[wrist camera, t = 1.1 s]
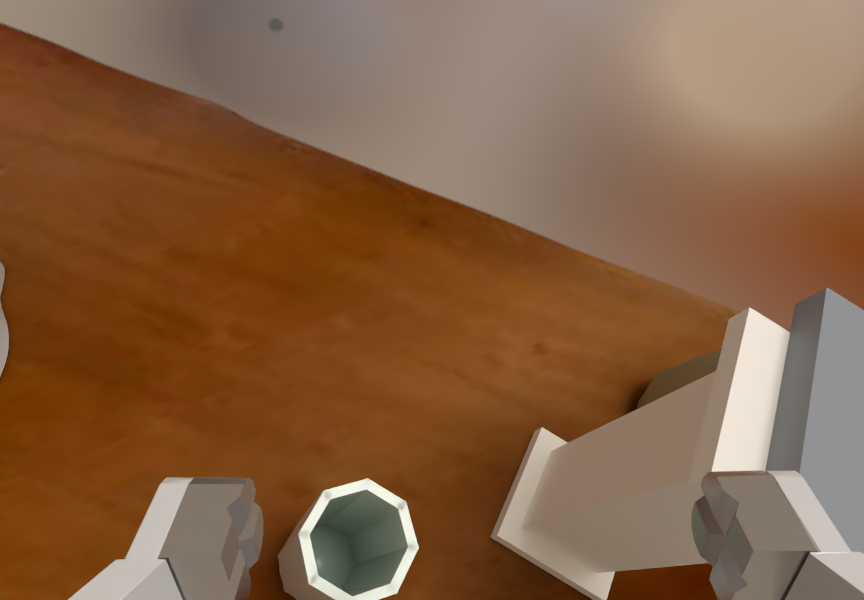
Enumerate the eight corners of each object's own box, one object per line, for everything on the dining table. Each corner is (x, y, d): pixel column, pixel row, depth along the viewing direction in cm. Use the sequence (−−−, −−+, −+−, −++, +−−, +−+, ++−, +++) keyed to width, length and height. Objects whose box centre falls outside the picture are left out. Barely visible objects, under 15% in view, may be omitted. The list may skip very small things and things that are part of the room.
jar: (262, 579, 43) (278, 566, 29) (306, 506, 46) (340, 461, 31) (331, 620, 43) (380, 628, 29) (371, 545, 46) (433, 517, 32)
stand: (490, 537, 49) (710, 478, 26) (534, 431, 54) (749, 307, 31) (596, 601, 49) (903, 597, 26) (630, 490, 54) (911, 408, 32)
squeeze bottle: (639, 364, 60) (779, 281, 45) (707, 409, 60) (871, 342, 45) (612, 431, 56) (758, 365, 41) (686, 480, 56) (859, 432, 40)
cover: (722, 708, 22) (763, 716, 20) (795, 304, 32) (826, 287, 31) (837, 778, 22) (888, 792, 21) (873, 353, 33) (909, 338, 31)
